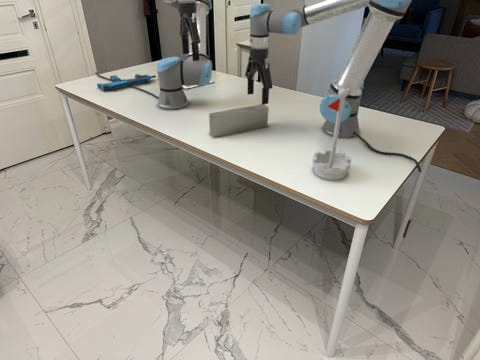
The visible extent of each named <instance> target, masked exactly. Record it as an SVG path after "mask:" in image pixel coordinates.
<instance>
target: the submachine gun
mask: <svg viewBox="0 0 480 360" xmlns="http://www.w3.org/2000/svg"><path fill="white" fill-rule="evenodd" d="M155 78H157V75H156V74H154V75H149V74H143V75H142V74H140V73H137V74H135V75H134V78H128V79H127V78H125V79H121V77H118V75H116V74H115V75H110V76H109V79H112V81H110V82H105V83H100V82H99V83H96V87H97V88H99V89H100V90H101V91H103V92H104V91H109V90H111V91H112V90H114V91H116V90H117V89H119V88H123V87H129V86H128V85H131V86H134V85H138V84H141V83H148V82H150V81H151V80H152V79H155Z"/></svg>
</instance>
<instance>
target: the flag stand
mask: <svg viewBox="0 0 480 360" xmlns="http://www.w3.org/2000/svg"><path fill="white" fill-rule="evenodd" d="M338 95H339V97H340V98H339V99H338V100H336V101H335V102H333V103H332V104H330V105H329V106H327V107H329V108H331V109H333V110H336V111H338V112H337V118H336V124H335V130H334V136H332V143H331V148H330V149H329V148H328V149H324V152H321V151H320V150H317V151H315V152H314V154H313V155H314V156H312V166H313V168H314V169H313V170H314V173H315V174H316V175H317V176H318V177H320V178H322V179H325V180H330V181H333V180H340V179H343V178H345V176H346V173H347V172H348V171H350V169H351V166H352V158H351V157H350V156H346V153H345V152H343V151H339V150H338V151H337V145H338V138H339V137H338V134H339V128H340V123H341V117H342V111H343V105H344V99H345V97H346V96H347V95H348V91H347V90H346V89H344V88H342V89H340V90H339V92H338ZM336 151H337V152H336Z"/></svg>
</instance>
